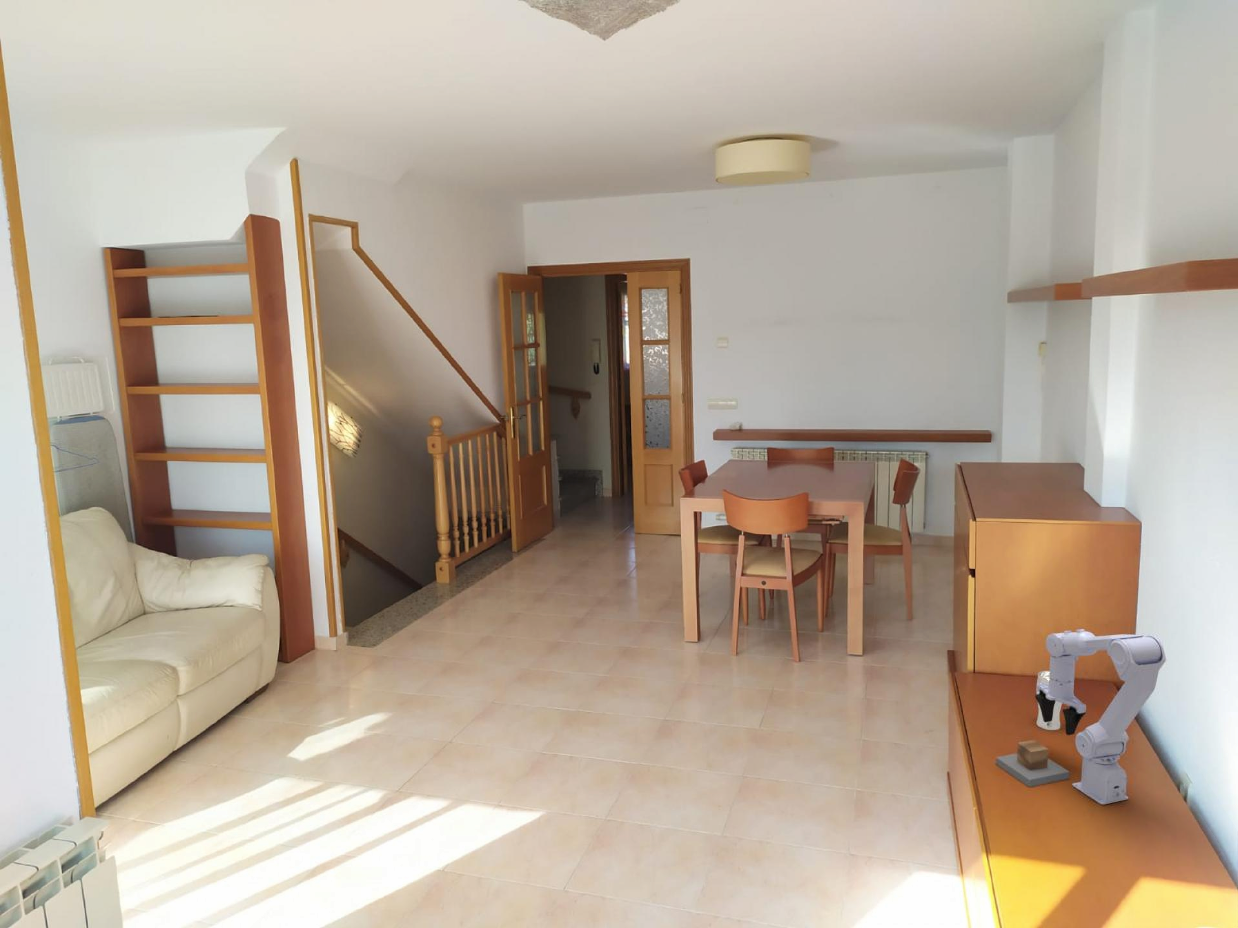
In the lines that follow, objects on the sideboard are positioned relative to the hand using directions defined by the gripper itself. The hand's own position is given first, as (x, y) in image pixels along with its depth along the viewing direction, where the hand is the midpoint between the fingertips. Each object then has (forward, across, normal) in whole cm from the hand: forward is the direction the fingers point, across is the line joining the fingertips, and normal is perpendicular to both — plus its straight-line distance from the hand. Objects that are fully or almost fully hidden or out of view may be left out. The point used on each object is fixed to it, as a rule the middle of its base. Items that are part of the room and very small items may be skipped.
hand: (1058, 727), depth 230 cm
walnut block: (+8, +2, -10) cm, 12 cm away
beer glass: (+10, -17, +13) cm, 23 cm away
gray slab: (+10, +2, -10) cm, 14 cm away
